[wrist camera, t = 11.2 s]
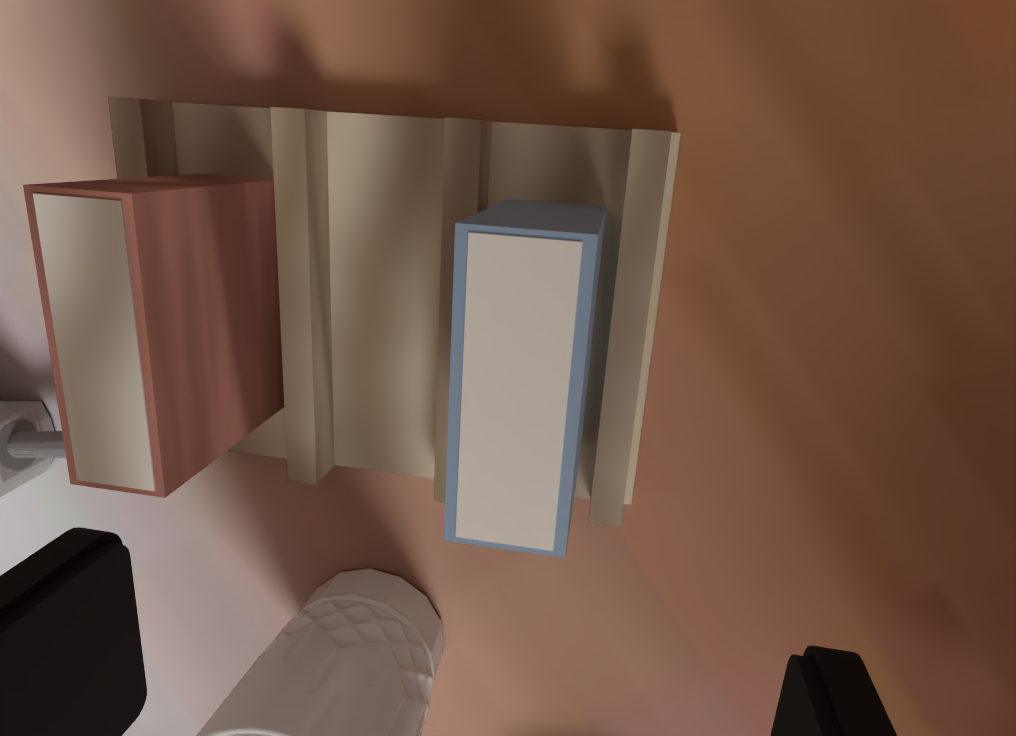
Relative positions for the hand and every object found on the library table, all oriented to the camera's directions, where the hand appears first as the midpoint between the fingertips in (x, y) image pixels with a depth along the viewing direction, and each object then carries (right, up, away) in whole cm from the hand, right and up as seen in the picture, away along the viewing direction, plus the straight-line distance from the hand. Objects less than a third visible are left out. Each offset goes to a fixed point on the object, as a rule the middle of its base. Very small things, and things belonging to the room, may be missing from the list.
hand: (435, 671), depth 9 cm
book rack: (-3, +7, +18) cm, 19 cm away
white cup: (-5, -8, +23) cm, 25 cm away
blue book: (+2, +6, +16) cm, 17 cm away
